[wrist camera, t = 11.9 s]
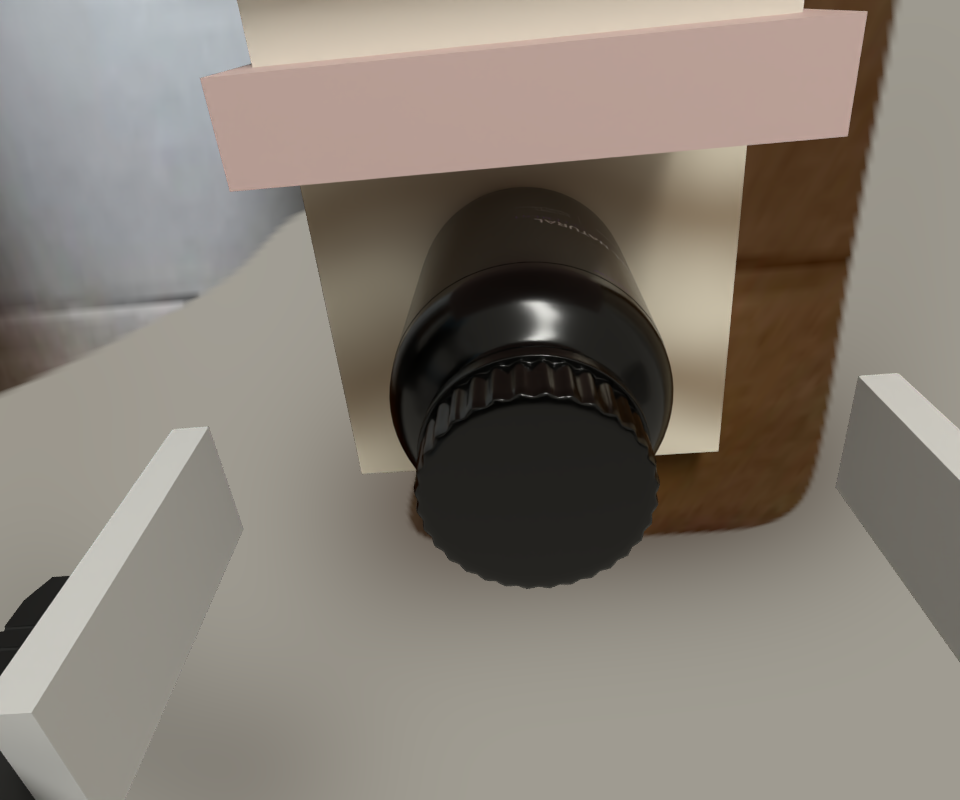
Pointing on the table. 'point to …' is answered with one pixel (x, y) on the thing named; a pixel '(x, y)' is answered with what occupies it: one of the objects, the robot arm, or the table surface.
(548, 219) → the supplement bottle
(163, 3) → the table surface
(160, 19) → the table surface
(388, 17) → the book row
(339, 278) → the shelf board
